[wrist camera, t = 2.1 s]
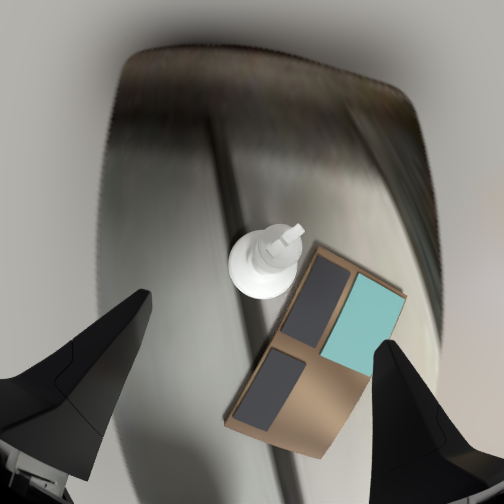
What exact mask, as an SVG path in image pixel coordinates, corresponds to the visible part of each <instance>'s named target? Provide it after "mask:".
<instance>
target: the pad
mask: <svg viewBox="0 0 504 504" xmlns="http://www.w3.org/2000/svg"><path fill="white" fill-rule="evenodd" d="M404 301H405V299H403V298H402V297H400V296H398V295H397V294H395V293H393V292H391V291H390V290H388V289H386V288H384V287H383V286H381V285H379V284H377V283H376V282H374V281H372V280H370V279H369V278H367V277H365V276H363V275H362V274H360V273H358V275H357V277H356V279H355V282H354V284H353V286H352V289H351V291H350V293H349V295H348V298H347V300H346V302H345V304H344V306H343V308H342V311H341V313H340V315H339V317H338V319H337V321H336V323H335V325H334V327H333V329H332V331H331V333H330V335H329V337H328V339H327V341H326V343H325V345H324V347H323V349H322V351H321V353H320V355H321V356H323V357H325V358H327V359H330V360H332V361H334V362H336V363H339V364H341V365H343V366H346V367H348V368H350V369H353V370H355V371H357V372H360V373H362V374H365V375H367V376H369V377H371V375H372V373H373V355H374V352H375V350H376V349H377V348H378V346H379V345H380V344H381V343H382V342H383V341H384V340H385V339H389V337H390V335H391V333H392V330H393V328H394V326H395V324H396V321H397V319H398V316H399V314H400V311H401V309H402V306H403V304H404Z"/></svg>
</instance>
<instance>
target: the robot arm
mask: <svg viewBox="0 0 504 504" xmlns="http://www.w3.org/2000/svg"><path fill="white" fill-rule="evenodd" d="M151 312H152V294H151V292H150V291H149V290H145V289H139V290H137V291H136V292H135V293H133V294H132V295H131V296H129V297H128V298H126V299H125V300H124V301H122V302H121V303H120V304H118V305H117V306H116V307H114V308H113V309H112V310H110V311H109V312H107V313H106V314H105V315H103V316H102V317H101V318H99V319H98V320H97V321H95V322H94V323H93V324H92V325H90V326H89V327H88V328H87V329H85V330H84V331H83V332H81V333H80V334H78V335H77V336H76V337H74V338H73V340H70V341H69V342H68V343H67V344H65V345H64V346H63V347H61V348H60V349H59V350H57V351H56V352H54V353H53V354H51V355H50V356H48V357H47V358H45V359H44V360H42V361H41V362H39V363H37V364H36V365H34V366H33V367H31V368H29V369H28V370H26V371H25V372H23V373H21V374H19V375H17V376H15V377H12V378H8V379H0V504H74V503H73V501H72V499H71V497H70V495H69V493H68V491H67V490H66V488H65V485H66V482H67V479H68V476H69V475H71V476H74V477H76V478H79V479H82V480H84V481H88V479H89V477H90V474H91V470H92V468H93V464H94V462H95V459H96V456H97V453H98V450H99V448H100V445H101V442H102V439H103V438H102V437H104V434H105V431H106V429H107V426H108V423H109V421H110V418H111V416H112V413H113V411H114V408H115V405H116V403H117V401H118V398H119V396H120V393H121V391H122V388H123V386H124V384H125V381H126V379H127V376H128V374H129V372H130V369H131V367H132V365H133V362H134V360H135V358H136V356H137V353H138V351H139V349H140V346H141V343H142V340H143V337H144V333H145V330H146V327H147V324H148V321H149V318H150V315H151ZM372 416H373V439H372V470H371V484H370V497H369V504H504V459H503V458H500V457H496V456H493V455H490V454H487V453H484V452H481V451H478V450H476V449H474V448H473V447H471V446H470V445H469V444H468V442H467V441H466V440H465V439H464V437H463V436H462V435H461V434H460V432H459V431H458V429H457V428H456V427H455V426H454V424H453V423H452V422H451V420H450V419H449V417H448V416H447V414H446V413H445V412H444V410H443V409H442V407H441V406H440V404H439V403H438V401H437V400H436V398H435V397H434V395H433V394H432V392H431V391H430V389H429V388H428V387H427V385H426V384H425V382H424V381H423V379H422V378H421V376H420V375H419V374H418V372H417V371H416V369H415V368H414V367H413V365H412V364H411V362H410V361H409V360H408V358H407V357H406V356H405V354H404V353H403V351H402V350H401V349H400V347H399V346H398V345H397V343H396V342H395V341H394V340H389V339H385V340H384V341H383V342H382V343H381V344H380V345H379V346H378V348H377V349H376V350H375V352H374V355H373V376H372Z"/></svg>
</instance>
